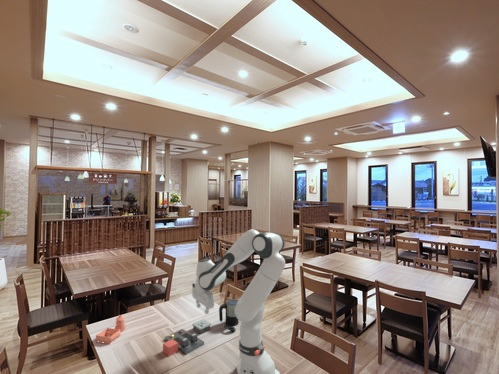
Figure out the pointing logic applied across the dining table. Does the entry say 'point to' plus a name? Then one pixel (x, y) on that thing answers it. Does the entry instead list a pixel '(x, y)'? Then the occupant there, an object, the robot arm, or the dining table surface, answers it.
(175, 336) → the panel
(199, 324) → the electrical switch
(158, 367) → the dining table surface
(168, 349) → the lockout cap
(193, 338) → the breaker
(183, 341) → the block
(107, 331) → the pottery
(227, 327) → the milk frother
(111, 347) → the dining table surface
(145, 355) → the dining table surface
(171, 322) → the dining table surface
